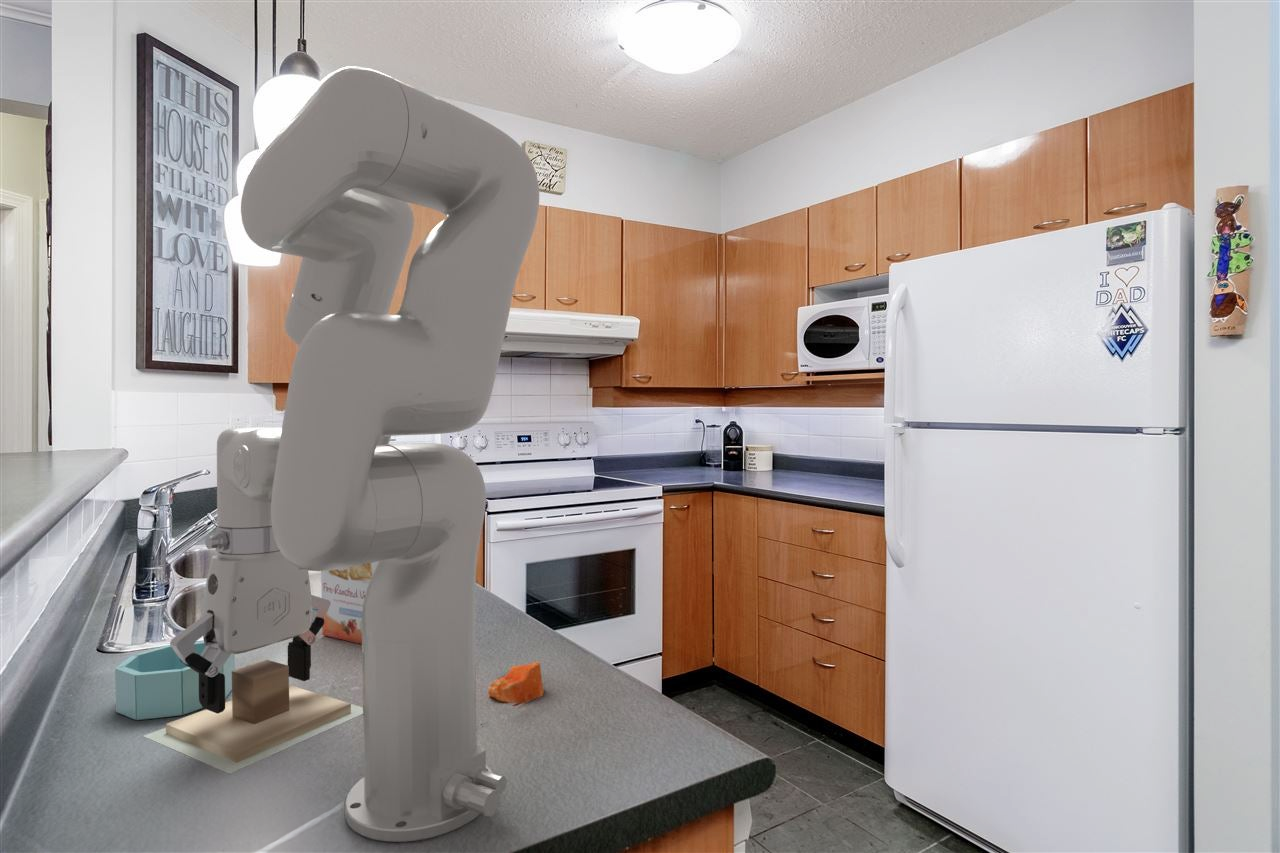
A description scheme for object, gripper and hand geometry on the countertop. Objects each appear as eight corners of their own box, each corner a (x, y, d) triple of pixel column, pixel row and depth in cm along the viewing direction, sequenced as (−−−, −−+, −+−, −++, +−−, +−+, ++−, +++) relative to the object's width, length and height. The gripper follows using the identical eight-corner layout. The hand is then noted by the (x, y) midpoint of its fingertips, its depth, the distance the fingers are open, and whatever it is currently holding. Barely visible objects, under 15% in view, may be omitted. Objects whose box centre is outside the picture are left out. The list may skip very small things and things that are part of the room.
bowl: (250, 694, 85) (249, 650, 85) (151, 730, 75) (150, 680, 75) (200, 678, 90) (200, 636, 90) (102, 710, 81) (101, 663, 81)
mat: (370, 713, 79) (370, 710, 79) (230, 777, 65) (230, 773, 65) (284, 687, 87) (284, 684, 87) (142, 739, 73) (142, 735, 73)
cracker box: (319, 637, 107) (317, 502, 106) (352, 626, 112) (350, 498, 112) (383, 651, 100) (381, 507, 100) (414, 639, 106) (413, 502, 105)
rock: (443, 711, 82) (443, 675, 81) (507, 675, 92) (506, 644, 92) (527, 730, 76) (526, 691, 76) (584, 690, 87) (583, 656, 87)
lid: (350, 712, 79) (350, 659, 79) (236, 762, 67) (235, 701, 67) (280, 690, 85) (280, 642, 85) (165, 733, 74) (164, 677, 74)
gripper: (193, 558, 67) (194, 733, 67) (347, 530, 82) (348, 674, 82) (152, 549, 70) (154, 715, 71) (307, 524, 85) (308, 662, 86)
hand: (258, 693), depth 76 cm, fingers open, 9 cm apart
